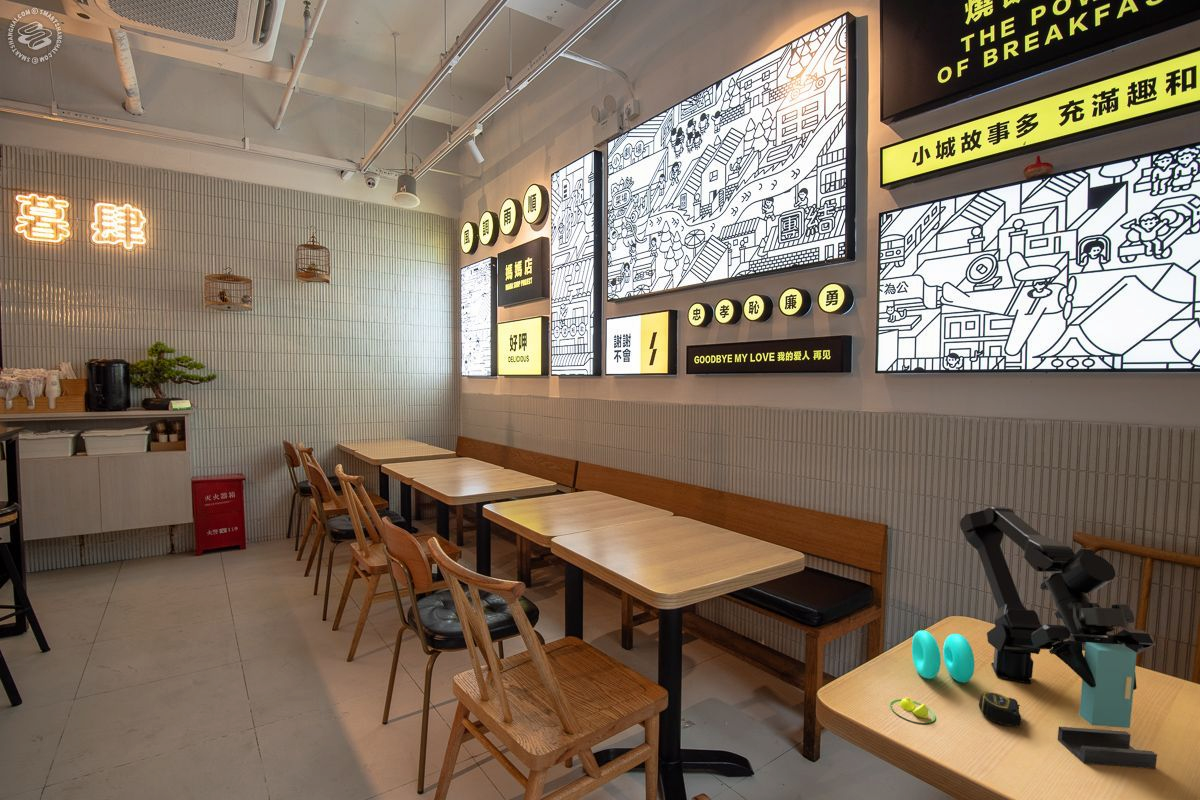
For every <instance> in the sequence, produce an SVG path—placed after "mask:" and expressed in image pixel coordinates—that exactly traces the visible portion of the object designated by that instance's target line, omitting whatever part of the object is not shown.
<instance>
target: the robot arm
mask: <svg viewBox="0 0 1200 800" xmlns="http://www.w3.org/2000/svg"><path fill="white" fill-rule="evenodd" d="M959 527H960V530H961V531H962V533H963V536H964V537H965V540H966V542H968V543H969V545H971V546H972V547H973V548H975V550H977V553H978V555H979V558H980V561H981V563H982V567H983V569H984V572H985V575H986V578H987V581H988V584H989V586H990V590H991V592H992V596H993V597H994V598H993V599H994V601H995V604H996V606H997V612H996V615H995V617H994V620H993V621H994V625H995V626H994V627H993V628H991V629H989V630H988V631H987V632H986V636H987V637H986V638H987V643H988V644H990V645H991V646H992V647H994V652H993V654H994V655H993V662H991V663H990V665H991V667H992V669H993V672H994V674H995V676H996V677H997V678H999V679H1003V680H1004V679H1005V680H1010V681H1015V682H1019V683H1025V684H1028V685H1031V684H1032V680H1031V679H1032V678H1033V673H1034V671H1033V669H1034V660H1033V658H1032V654H1035V655H1039V654H1040V652H1041V651H1042V650H1048V652H1049V653H1050V655H1055V656H1056V657H1057V658H1059V660H1060V661H1062V662H1063V663H1065V665H1067V667H1069V668H1070V669H1071V670H1072V671H1073V672H1074V673H1075V674H1076V675H1077V676H1078V677H1080V678H1081V680H1082V679H1083V680H1084V681H1085V682H1086V683H1087V684H1088V685H1089V686H1090V687H1096V683H1095V680H1094V677H1093V675H1092V673H1091V671H1090V669H1089V666H1088V664H1087V662H1086V660H1085V658H1084V652H1083V645H1085V643H1086V642H1091V643H1106V644H1122V645H1125V646H1126V647H1128V648H1130V649H1131V650H1133V651H1135V652H1137V655H1138V654H1141V653H1143V652H1144V651H1146V650H1148V649H1150V648H1153V647H1154V646H1156V643H1155V641H1154V639H1153V637H1152V636H1151V634H1150V633H1148V632H1146V631H1145V630H1141V629H1140V630H1139V629H1126V628H1129V627H1128V623H1129V624H1133V623H1134V622H1135V621H1136V620H1135V615H1134V613H1133V610H1131V608H1130V606H1129V605H1128V604H1124V603H1123V604H1119V603H1118V604H1111V608H1109V607H1101V605H1099V604H1098V603H1096V602H1092V601H1091V599H1090V597H1089V595H1088V594H1093V593H1094V592H1096V591H1098V590H1099V589H1101V588H1102V587H1104V586H1105V585H1107V584H1108V583H1109V582H1111V581H1112V580H1114V579H1115V577H1116V570H1115V567H1114V566H1113V565H1112V564H1111V563H1110V562H1109V560H1106V559H1105V558H1104V557H1102V556H1101V555H1099V554H1096V553H1095V551H1094V550H1093V549H1092V548H1080V549H1079V550H1077V552H1076V553H1075V552H1074V550H1073V549H1072V547H1070V546H1069V545H1067V544H1066V543H1064V542H1061V541H1059V540H1056V539H1053V538H1050V537H1046V536H1045V535H1043V534H1041V533H1040V532H1039V531H1038V530H1036V529H1034V527H1032V526H1031V525H1029V524H1028V523H1027V522H1025V520H1023V519H1022V518H1021V517H1019V516H1018V515H1016V514H1015V511H1014V510H1013V509H1012V508H1009V507H1003V506H1002V507H998V506H990V507H987V508H985V509H984V510H978V511H976V512H972V513H966V514H965V515H964V516H963V517H962V518H961V519H960V521H959ZM1005 535H1006V537H1008V538H1009V539H1010V540H1011V541H1012V542H1014V544H1016V545H1017V546H1018V547H1019V548H1020V549H1022V550H1023V558H1024V559H1025V560H1026V562H1027V564H1029V566H1030V567H1031V568H1032V569H1033V570H1034V571H1036V572H1039V573H1040V572H1042V573H1043V572H1044V573H1052V574H1051V575H1050V576H1044V577H1043V579H1042V580H1043V581H1042V582H1041V583H1040V589H1041V590H1043V591H1049V594H1050V596H1051V598H1052V600H1053V602H1054V605H1055V607H1056V608H1057V611H1056V612H1054V615H1055V618H1056V619H1061V620H1062V622H1063V624H1064V625H1061V624H1058V625H1057V624H1044V625H1042V624H1041V622H1040V619H1039V615H1038V613H1037V612H1036V611H1035V610H1034V609H1028V608H1026V606H1025V605H1024V604H1023V603H1022V600H1021V597H1020V594H1019V592H1018V589H1017V586H1016V584H1015V581H1014V578H1013V576H1012V573H1011V570H1010V569H1009V566H1008V563H1007V560H1006V557H1005V555H1004V552H1003V549H1002V547H1001V545H1002V542H1003V539H1004V537H1005ZM1115 627H1120V628H1123V629H1122V630H1120V631H1118V632H1116V633H1115V634H1108V632H1109V633H1111V632H1113V631H1115V630H1116V629H1115ZM1124 628H1125V629H1124ZM1137 688H1138V686H1137V676H1136V674H1135V678H1134V687H1133V691H1135V690H1137Z"/></svg>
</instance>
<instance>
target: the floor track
mask: <svg viewBox="0 0 1200 800" xmlns="http://www.w3.org/2000/svg"><path fill="white" fill-rule="evenodd" d="M1057 741H1058V742H1060V744H1062V746H1064V747H1065V748H1066V749H1067V750H1069V752H1070V753H1072V754H1073V755H1074V757H1076V758H1077V759H1078V760H1079V761H1081V763H1083V764H1089V765H1100V766H1111V767H1112V766H1115V767H1126V768H1138V769H1154V770H1156V768H1157V760H1158V759H1157V758H1158V754H1157V753H1156V752H1154V751H1153V750H1144V749H1143V750H1142V749H1136V748H1134V747H1133V746H1131V734H1130V733H1129V732H1128V731H1125V730H1115V729H1114V730H1112V729H1097V728H1086V727H1085V728H1084V727H1071V726H1069V727H1068V726H1058V730H1057Z"/></svg>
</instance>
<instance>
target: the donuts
mask: <svg viewBox="0 0 1200 800" xmlns="http://www.w3.org/2000/svg"><path fill="white" fill-rule="evenodd" d="M969 642H970V641H968V640H967V638H966V637H964V635H961V634H959V633H952V634H949V635H948V636H947V637H946V639H945V640H944V644H943V648H942V657H943V662H944V666H945V668H946V670H947V672H948V674H949V675H950V676H951V678H952V679H953V680H955V681H956V682H959V683H967V682H969V681H970V680H971V679H972V678H973V676H974V672H975V657H974V652H973V649H972V646H971V644H970V643H969ZM911 656H912V661H913V665H914V668H915V670H916V672H917V673H918V674H919V675H920V676H921V677H922V678H924V679H927V680H930V679H933V678H935V677H936V676H937V675H938V673H939V671H940V668H941V659H942V657H941V651H940V647H939V644H938V642H937V639H936V638H935V637H934V636H933V634H931V633H930V632H929V631H927V630H918V631H916V632H915V633H914V635H913V637H912V641H911Z"/></svg>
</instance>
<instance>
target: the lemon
mask: <svg viewBox="0 0 1200 800" xmlns="http://www.w3.org/2000/svg"><path fill="white" fill-rule="evenodd" d="M898 701H899V707H900V708H901V709H902V708H903V710H904V711H907V712H912V713H913V714H914V715H915V716H917V718H922V719H923V718H925V719H928V718H929V716H928V713H930V714H931V715H932V720H931V721H928V722H927V724H929V723H933V722H934V721H935V720H936V714H935V713H934V712H933V711H932V710H931V709H930V708H929V707H928V706H927V705H926V704H925V703H922V704H921V703H919V702H917V701H913V700H912V699H911V698H910V697H909V696H907V697H904V698H902V699H895V700H892V701H891V702H890V708H891V710H892V711H893V712H894V713H895V715H898V713H897V712H896V711H895V710H894V708H893V705H894V704H895V703H898ZM891 705H892V706H891ZM916 705H918V706H917V707H916ZM892 708H893V709H892Z"/></svg>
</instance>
